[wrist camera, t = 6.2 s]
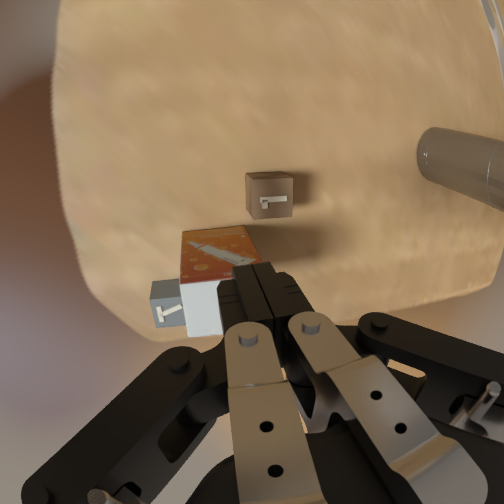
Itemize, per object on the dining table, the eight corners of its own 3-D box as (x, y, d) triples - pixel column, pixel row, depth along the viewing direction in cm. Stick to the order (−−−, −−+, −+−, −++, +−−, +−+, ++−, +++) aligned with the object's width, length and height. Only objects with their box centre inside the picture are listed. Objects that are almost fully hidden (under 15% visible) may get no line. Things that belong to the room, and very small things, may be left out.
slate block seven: (184, 277, 39) (185, 297, 34) (189, 305, 41) (190, 325, 36) (152, 281, 38) (149, 300, 34) (158, 308, 40) (156, 328, 36)
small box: (244, 223, 37) (271, 273, 26) (245, 268, 40) (270, 328, 28) (180, 230, 36) (178, 284, 24) (186, 275, 38) (188, 340, 27)
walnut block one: (280, 171, 35) (293, 178, 31) (280, 205, 37) (292, 217, 33) (245, 172, 34) (253, 180, 30) (245, 208, 36) (254, 220, 32)
